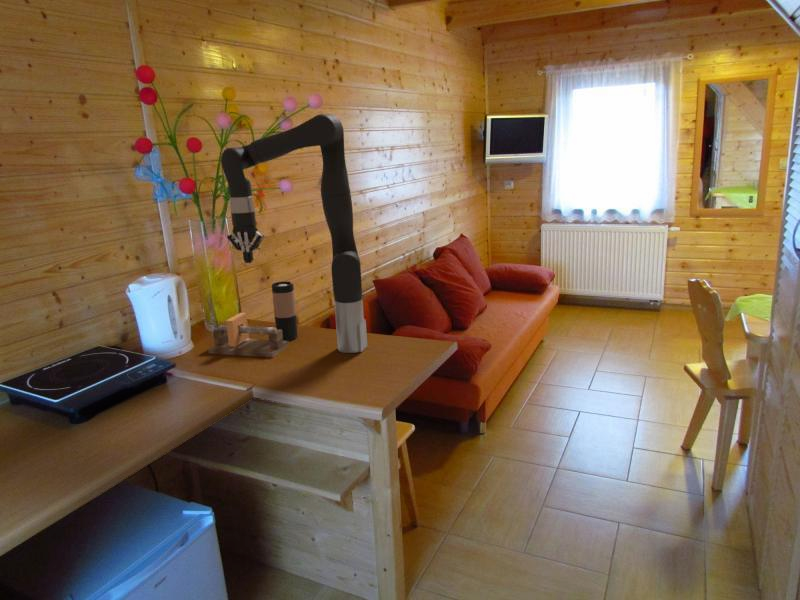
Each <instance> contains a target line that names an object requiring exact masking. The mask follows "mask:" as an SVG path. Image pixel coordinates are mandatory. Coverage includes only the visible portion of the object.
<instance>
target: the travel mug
mask: <svg viewBox="0 0 800 600" xmlns="http://www.w3.org/2000/svg"><path fill="white" fill-rule="evenodd" d="M294 289H295V287H294V283H291V281H277V282H274V283H272V284H271V293H272V303H273V314H274V320H275V321H274V322H275V323H274V324H275V328H276V329H280V330H282V334H283V341H289V342H290V341H293V340H296V339H297V338H298V336H299V335H298V320H297V317H298V316H297V309H296V308H297V306H296V299H295V298H296V297H295V290H294Z"/></svg>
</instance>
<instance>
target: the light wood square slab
mask: <svg viewBox="0 0 800 600" xmlns="http://www.w3.org/2000/svg"><path fill="white" fill-rule="evenodd" d="M225 325H227V332H228V340H229V346H237V345H239V344H240V343H242V342H243V341H245V340H246V339H248V338H250V333H239V332H238V326H249V324H248V316H247V312H238V313H237V314H236V315H233V316H232V317H230V318H228V319H226V320H225Z"/></svg>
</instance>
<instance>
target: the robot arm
mask: <svg viewBox="0 0 800 600" xmlns="http://www.w3.org/2000/svg"><path fill="white" fill-rule="evenodd" d="M344 131H345V130H344V127H343V124H342V122H341V120H340V118H338V117H337V116H336V115H334V114H330V113H319V114H316V115H315V116H313V117H311V118H310V119H307V120H306V121H304V122H303V123H301V124H299V125H297V126H294V127H291V128H289V129H287V130H285V131H281V132H277V133H275V134H271V135H267V136H264V137H261V138H258V139H256V140H253V141H251V142H250V143H249V144H246V145H242V146H238V147H228V148H225V149H224V150H223V151H222V153H221V159H220V161H221V167H222V170H223V173H224V175H225V176H224V177H225V180H226V182H227V184H228V193H229V209H230V215H231V225H232V227H233V228H232V232H231V233H230V234H228V235H227V236H226V238H227V240H229V242H230V243H231V245H232V246H233V247H234V248H235V250H236V251H240V252H242V257H243V258H242V259H243V261H244V263H245V264H251V263H252V262H253V261H254V253H253V251H254V250H257V249H259V246H260V245H261V243H262V241H263V240H264V238H265V234H263V233H262V234H261V232H259V230H258V227H257V221H256V220H257V219H256V212H255V203H254V202H255V201H254V198H253V193H252V192H253V191H252V184H251V181H250V179H249V178H247V177H246V176H245V172H244V170H246V169H250V168H252V167H254V166H256V165H259V164H261V163H267V162H269V161H272V160H276V159H278V158H281V157H283V156H286V155H288V154H290V153H291V152H294V151H297V150H299V149H304V148H310V147H317V146H318V147H320V148H319V149H320V152H321V153H320V154H321V157H322V172H321V181H320V197H321V202H322V209H323V214H324V218H325V222H326V224H327V227H328V230H329V233H330V237H331V247H332V248H331V249H332V250H331V251H332V261H331V279H332V280H331V281H332V292H333V298H334V301H333V302H334V312H335V313H334V316H335V328H336V340H337V341H336V342H337V351H338V352H339V353H343V354H356V353H362V352H364V350H365V349H366V348H367V347H368V337H367V336H368V335H367V323H366V322H367V320H366V319H365V318H364V304H363V303H364V302H363V286H362V270H361V269H362V268H361V260H360V255H359V252H358V249H357V244H356V241H355V235H354V214H353V213H354V211H353V201H352V195H351V189H350V188H351V187H350V181H349V176H348V169H347V164H346V156H345V132H344ZM254 239H255V240H254Z"/></svg>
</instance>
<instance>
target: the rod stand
mask: <svg viewBox="0 0 800 600" xmlns="http://www.w3.org/2000/svg"><path fill="white" fill-rule="evenodd" d="M212 332H213V341H214V342H213V343H214V345H213V346H211V347H209V348H207V349H208V354H211V355H224V356H225V355H228V356H240V357H241V356H242V357H259V358H272V359H273V358H274V357H276V356H277V355H278V354H280V353H281V352H282V351H283V350H285V349H286V348H287V347H290V341H283V334H282V330H280V329H276V327H270V326H269V327H268V326H266V327H265V326H249V325H248V326H238V332H239V333H249V335H250V334H253V335H268V339H260V338H259V339H258V338H250V337H249V338H248V339H246V340H245V341H243V342H242V343H240V344H239V345H237V346H229V340H228V332H227V325H226V324H219V325H218V327H216V328H213V330H212Z"/></svg>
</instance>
